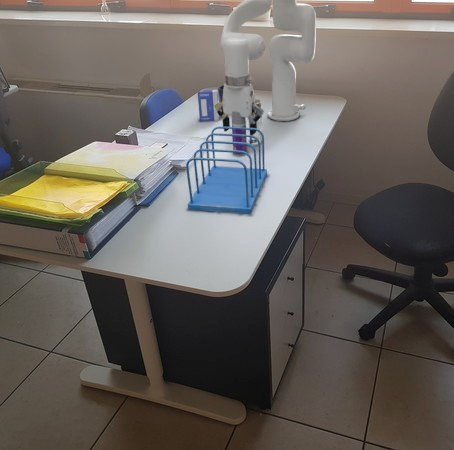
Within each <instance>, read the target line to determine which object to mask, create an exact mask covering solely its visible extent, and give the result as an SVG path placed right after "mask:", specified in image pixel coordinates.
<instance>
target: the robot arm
mask: <svg viewBox="0 0 454 450" xmlns="http://www.w3.org/2000/svg"><path fill="white" fill-rule="evenodd" d="M271 6H272V23H273V27H274V28H275V30H277V31H281V32H291V33H300V35H298V34H286V33H285V34H283V33H282V34H276V35H274V36H273V37H272V38H271V39H270V41H269V46H268V47H269V48H268V49H269V55H270V56H269V57H270V62H271V111H269V112H268V113H267V116H268V118H269V119H271V120H273V121H279V122H289V121H294V120H297V119H298V118H299V116H300V113H299V111H300V110H305V109H306V105H305V104H299V103H296V93H297V90H296V89H297V71H296V68H295V66H294V65H293V63H301V64H302V63H303V64H308V63H311V62H312V61H313V60H314V58H315V54H316V38H317V33H316V32H317V14H316V10H315V8H314V7H313V6H312V5H311V4H308V3H297V0H242V2H240V3H239V4H238V5H237V6H236V7H235V8H234V9H232V11H231V12H230V13H229V15H228V16H227V17H226V19H225V21H224V24H223V28H222V31H221V34H220V40H219V41H220V42H219V45H220V46H219V47H220V48H219V49H220V51H221V53H222V55H223V58H224V59H223V60H224V77H225V79H224V80H225V83H224V84H223V85H224V89H223V101H222V102H220V103H219V102H218V104H216V105H215V109H216V111H217V113H218V114H219V118H220V119H221V120H222V127H231V124H230V122H231V121H230V117H229V116H231V117H232V112H240V115H241V117H246V118H247V117H248V119H249V120H250V121H251V124H250V128H256V129H257V121H258V120H259V119H260V118H261V117H262V118H263V115H264V113H265V110H264V109H263V108H260V107H259V106H257V105H255V99H256V97H255V91H254V86H253V84H252V83H254V77H251V74H250V61H253V60H254V61H255V60H258V59H260V58H261V57H262V56H263V55H264V54H265V51H266V41H265V39H264V37H263V36H262V35H260V34H257V33H247V32H238V30H240V28H241V27H242V26H243V25H245V24H246V23H248V21H251V20H254V19H256V18H258V17H260V16H263V15H266V13H268V12H269V11H270V9H271ZM221 106H223V110H221ZM256 111H257V112H258V115H257V116H255V114H254V113H255V112H256ZM229 130H230V129H223V132H227V131H229ZM255 133H256V130H250V135H254V134H255Z"/></svg>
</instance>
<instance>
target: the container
mask: <svg viewBox="0 0 454 450" xmlns="http://www.w3.org/2000/svg"><path fill="white" fill-rule="evenodd" d="M231 127H244V128H246V117H241V115H240V112H232V116H231ZM231 134H242V135H246V130H241V129H231ZM231 138H232V139H231V140H232V142H244V143H247V141H246V137H237V136H231ZM247 146H248V145H238V144H232V150H238V151H245V152H247V153H248V149H247V148H248V147H247ZM232 154H233V155H234V156H235V157H244V156H247V155H246V154H243V153H232Z"/></svg>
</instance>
